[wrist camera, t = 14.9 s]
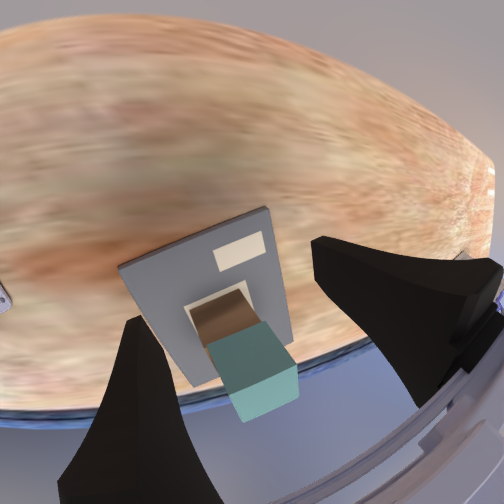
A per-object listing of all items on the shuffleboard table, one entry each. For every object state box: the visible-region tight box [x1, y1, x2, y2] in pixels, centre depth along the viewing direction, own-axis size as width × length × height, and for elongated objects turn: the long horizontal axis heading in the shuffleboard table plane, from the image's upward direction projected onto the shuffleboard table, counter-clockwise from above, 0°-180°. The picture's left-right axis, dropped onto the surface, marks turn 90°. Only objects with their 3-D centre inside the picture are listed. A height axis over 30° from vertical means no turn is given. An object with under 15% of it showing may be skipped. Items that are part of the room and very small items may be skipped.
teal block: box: [207, 321, 299, 423], centre depth 19 cm, size 4×4×4 cm
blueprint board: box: [118, 206, 294, 387], centre depth 24 cm, size 16×12×1 cm
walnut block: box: [189, 288, 261, 376], centre depth 22 cm, size 4×4×4 cm
